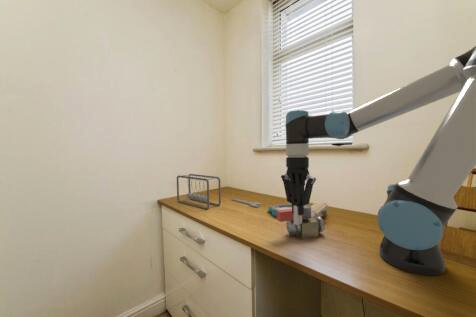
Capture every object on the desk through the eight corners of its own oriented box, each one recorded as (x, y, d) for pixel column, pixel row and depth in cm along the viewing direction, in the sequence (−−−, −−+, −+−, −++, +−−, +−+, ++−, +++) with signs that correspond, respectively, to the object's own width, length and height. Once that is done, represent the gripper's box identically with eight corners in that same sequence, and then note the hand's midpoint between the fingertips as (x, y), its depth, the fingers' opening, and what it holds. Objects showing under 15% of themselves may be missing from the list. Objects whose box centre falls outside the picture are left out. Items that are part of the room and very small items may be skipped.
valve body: (314, 229, 87) (315, 213, 86) (325, 235, 80) (325, 218, 80) (285, 232, 84) (285, 216, 83) (294, 239, 77) (294, 222, 77)
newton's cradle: (176, 202, 134) (176, 175, 133) (189, 198, 142) (189, 173, 141) (208, 210, 115) (207, 179, 114) (221, 206, 123) (220, 177, 122)
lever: (306, 214, 84) (306, 205, 84) (313, 218, 80) (313, 208, 80) (275, 218, 80) (275, 208, 80) (281, 222, 76) (281, 212, 76)
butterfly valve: (257, 223, 102) (318, 230, 84) (255, 209, 102) (317, 214, 84) (280, 210, 123) (334, 213, 105) (279, 198, 123) (332, 200, 105)
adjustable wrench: (230, 200, 138) (230, 198, 138) (237, 199, 142) (237, 196, 142) (255, 208, 118) (255, 205, 118) (263, 206, 122) (263, 203, 122)
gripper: (320, 156, 68) (321, 226, 69) (288, 155, 78) (289, 216, 79) (307, 157, 63) (308, 231, 64) (275, 156, 74) (276, 221, 75)
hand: (297, 223), depth 72 cm, fingers closed
